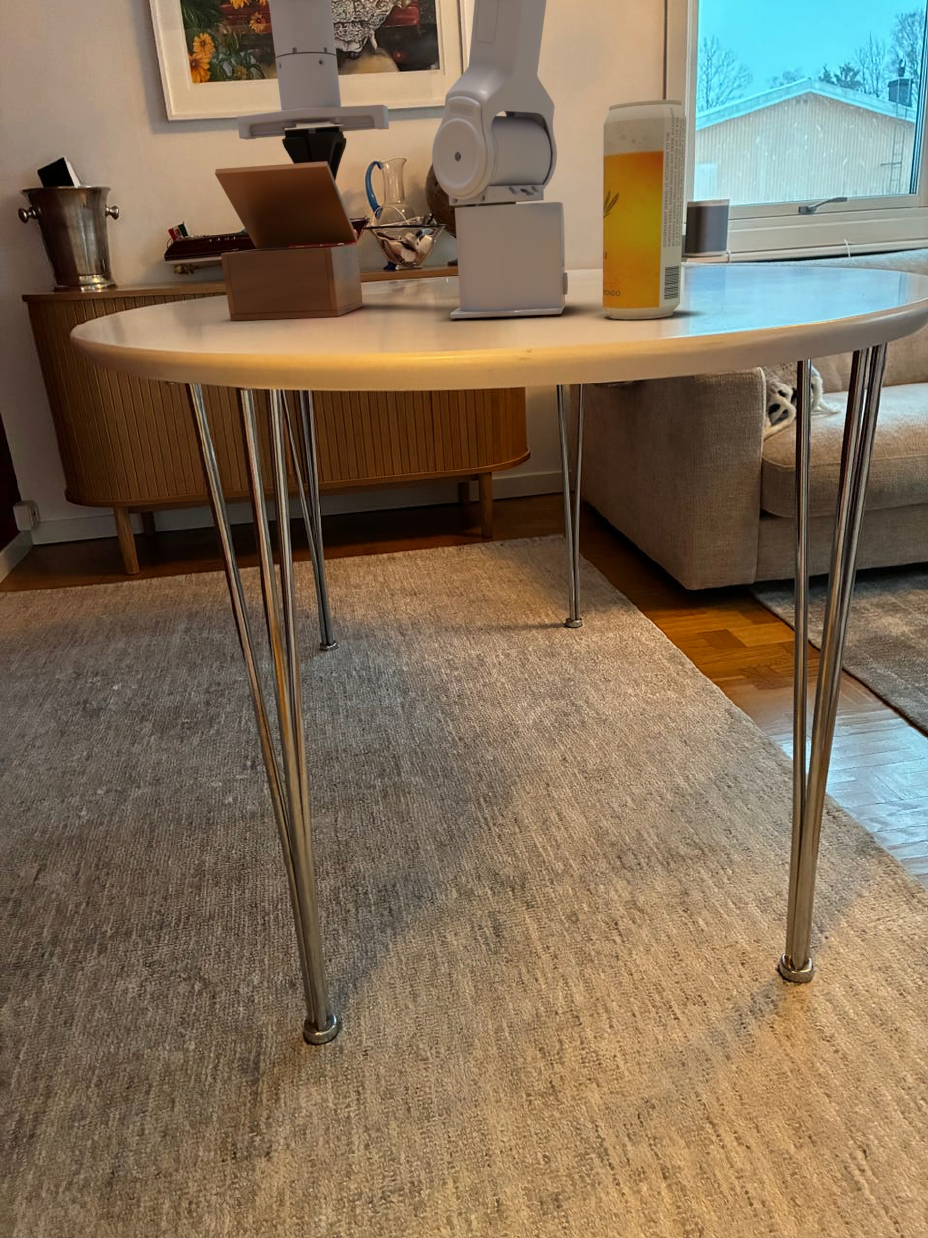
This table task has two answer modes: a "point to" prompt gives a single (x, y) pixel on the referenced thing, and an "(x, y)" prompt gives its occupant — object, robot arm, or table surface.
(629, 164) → the beer can
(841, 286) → the table surface
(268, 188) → the lid
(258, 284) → the chest
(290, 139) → the robot arm
